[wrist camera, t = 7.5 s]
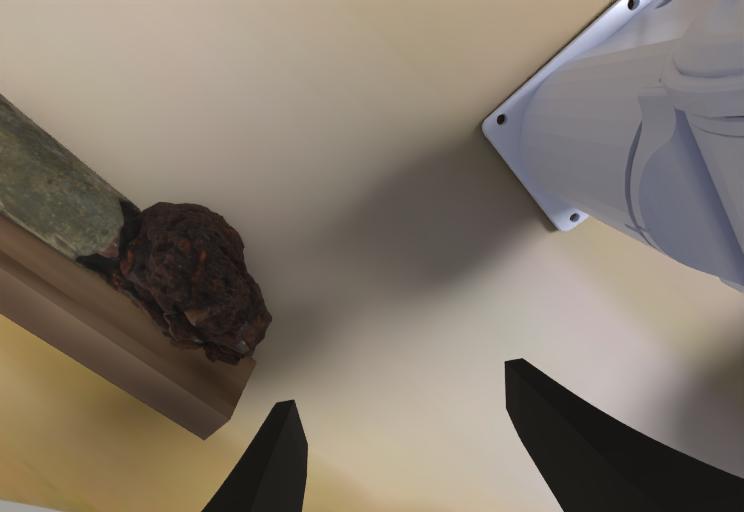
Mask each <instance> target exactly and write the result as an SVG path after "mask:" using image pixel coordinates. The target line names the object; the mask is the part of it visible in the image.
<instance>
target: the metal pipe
mask: <svg viewBox="0 0 744 512" xmlns="http://www.w3.org/2000/svg"><path fill="white" fill-rule="evenodd" d="M0 215H1V216H3V217H4V218H6V219H7V220H9V221H10V222H12V223H14V224H15V225H17V226H18V227H20V228H21V229H23V230H25V231H26V232H28V233H29V234H31V235H32V236H34V237H35V238H37V239H38V240H40V241H41V242H43V243H44V244H45V245H47V246H48V247H50V248H51V249H53V250H54V251H56V252H58V253H59V254H61V255H62V256H64V257H65V258H67V259H68V260H70V261H71V262H72V263H74V264H75V265H77V266H78V267H80V268H82V269H83V270H85V271H87V272H88V273H90V274H91V275H93V276H94V277H96V278H97V279H99V280H100V281H101V282H103V283H104V284H106V285H107V286H109V287H111V288H112V289H114V290H116V291H117V292H119V293H121V294H123V295H124V296H125V297H127V298H128V299H129V300H130V302H131V303H132V304H133V305H134V306H135V307H136V308H137V310H138V311H140V312H141V313H142V314H144V315H146V316H147V317H148V318H149V320H150V321H151V322H152V323H153V325H154V326H155V327H156V329H157V330H160V331H162V333H163V334H164V336H166V337H169V338H171V344H170V345H171V346H173V347H176V348H179V349H181V350H186V349H190V350H196V349H199V348H202V347H203V350H204V351H205V355H206V357H207V358H208V360H210V361H211V362H213V363H214V362H215V361H222V362H225V363H227V364H230V365H233V366H237V365H238V364H239V361H240V358H241V359H244V358H245V355H246V356H248V357H249V356H251V355H252V354H253V352H254V350H255V347H256V345H257V344H259V343H260V342H261V341H262V340H263V339H264V337H265V331H266V329H267V327H268V325H269V323H270V322H271V321H272V316H271V315H270V313H269V312H268V310H267V308H266V306H265V303H264V299H263V297H262V294H261V290H260V287H259V285H258V284H257V283H256V282H255V281H254V279H253V277H252V276H251V275H250V274H249V273H247V270H246V266H245V263H244V254H243V249H244V248H245V247H244V244H243V242H242V240H241V237H240V235H239V234H238V232H237V231H236V230H235V229H234V228H233V227H231V226H229V225H228V224H227V223H226V222H225V220H224V218H223V216H220V215H218V213H214V212H211V211H210V210H209V209H208V208H206V207H204V206H201V205H197V204H189V203H183V204H173V203H167V202H158V203H157V204H155V205H153V206H151V207H149V208H147V209H145V210H143V211H141V210H140V209H139V208H138V207H136V206H135V205H134V204H133V203H132V202H131V201H129V200H128V199H127V198H126V197H124V196H123V195H122V194H121V193H119V192H118V191H117V190H116V189H114V188H113V187H112V186H111V185H110V184H108V183H107V182H106V181H105V180H103V179H102V178H101V177H100V176H99V175H97V174H96V173H95V172H94V171H92V170H91V169H90V168H89V167H88V166H86V165H85V164H84V163H83V162H81V161H80V160H79V159H78V158H77V157H76V156H75V155H73V154H72V153H71V152H70V151H69V150H68V149H66V148H65V147H64V146H63V145H62V144H60V143H59V142H58V141H57V140H55V139H54V138H53V137H52V136H50V135H49V134H48V133H47V132H45V131H44V130H43V129H42V128H40V127H39V126H38V125H37V124H36V123H34V122H33V121H32V120H31V119H29V118H28V117H27V116H26V115H25V114H23V113H22V112H21V111H20V110H19V109H17V108H16V107H15V106H14V105H13V104H12V103H11V102H9V101H8V100H7V99H6V98H5V97H4V96H2V95H1V94H0Z"/></svg>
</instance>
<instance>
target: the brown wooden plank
mask: <svg viewBox="0 0 744 512" xmlns="http://www.w3.org/2000/svg"><path fill="white" fill-rule="evenodd" d="M0 314H2V315H3V316H5V317H7V318H8V319H10V320H11V321H13V322H15V323H16V324H18V325H20V326H21V327H23V328H24V329H26V330H28V331H29V332H31V333H32V334H34V335H36V336H37V337H39V338H40V339H42V340H44V341H45V342H47V343H48V344H50V345H52V346H53V347H55V348H57V349H58V350H60V351H61V352H63V353H65V354H66V355H68V356H69V357H71V358H73V359H74V360H76V361H77V362H79V363H81V364H82V365H84V366H85V367H87V368H89V369H90V370H92V371H94V372H95V373H97V374H98V375H100V376H102V377H103V378H105V379H106V380H108V381H110V382H111V383H113V384H114V385H116V386H118V387H119V388H121V389H122V390H124V391H126V392H127V393H129V394H131V395H132V396H134V397H135V398H137V399H139V400H140V401H142V402H143V403H145V404H147V405H148V406H150V407H151V408H153V409H155V410H156V411H158V412H159V413H161V414H163V415H164V416H166V417H168V418H169V419H171V420H172V421H174V422H176V423H177V424H179V425H180V426H182V427H184V428H185V429H187V430H188V431H190V432H192V433H193V434H195V435H196V436H198V437H200V438H201V439H203V440H205V439H207V438H208V437H209V436H210V435H212V434H213V433H214V432H215V431H216V430H218V429H219V428H220V427H221V426H223V425H224V424H225V423H226V422H228V421H229V420H230V419H231V416H232V414H233V412H234V410H235V408H236V405H237V403H238V401H239V399H240V397H241V394H242V392H243V390H244V388H245V386H246V383H247V381H248V379H249V377H250V375H251V372H252V370H253V368H254V366H255V364H256V362H255V361H254V360H252V359H251V358H249V357H248V356H246V355H245V358H244V359H241V358H240V361H239V364H238V365H237V366H233V365H230V364H227V363H225V362H222V361H215V362H214V363H213V362H211V361H210V360H208V358H207V357H206V355H205V351H204V350H203V347H202V348H199V349H196V350H190V349H186V350H181V349H179V348H176V347H173V346H171V345H170V344H171V338H169V337H166V336H164V334H163V333H162V331H160V330H157V329H156V327H155V326H154V325H153V323H152V322H151V321H150V320H149V318H148V317H147V316H146V315H144V314H142V313H141V312H140V311H138V310H137V308H136V307H135V306H134V305H133V304H132V303H131V302H130V300H129V299H128V298H127V297H125V296H124V295H123V294H121V293H119V292H117V291H116V290H114V289H112V288H111V287H109V286H107V285H106V284H104V283H103V282H101V281H100V280H99V279H97V278H96V277H94V276H93V275H91V274H90V273H88V272H87V271H85V270H83V269H82V268H80V267H78V266H77V265H75V264H74V263H72V262H71V261H70V260H68V259H67V258H65V257H64V256H62V255H61V254H59V253H58V252H56V251H54V250H53V249H51V248H50V247H48V246H47V245H45V244H44V243H43V242H41V241H40V240H38V239H37V238H35V237H34V236H32V235H31V234H29V233H28V232H26V231H25V230H23V229H21V228H20V227H18V226H17V225H15V224H14V223H12V222H10V221H9V220H7V219H6V218H4V217H3V216H1V215H0Z"/></svg>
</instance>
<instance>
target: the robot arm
mask: <svg viewBox="0 0 744 512" xmlns="http://www.w3.org/2000/svg"><path fill="white" fill-rule="evenodd" d="M628 1H629V0H617V1H616V2H615V3H614V4H613V5H612V6H611V7H610V8H608V9H607V10H606V11H605V12H604V13H603V14H602V15H601V16H600V17H598V18H597V19H596V20H595V21H594V22H593V23H592V24H591V25H590V26H588V27H587V28H586V29H585V30H584V31H583V32H582V33H581V34H580V35H579V36H577V37H576V38H575V39H574V40H573V41H572V42H571V43H570V44H569V45H567V46H566V47H565V48H564V49H563V50H562V51H561V52H560V53H559V54H557V55H556V56H555V57H554V58H553V59H552V60H551V61H550V62H549V63H547V64H546V65H545V66H544V67H543V68H542V69H541V70H540V71H539V72H537V73H536V74H535V75H534V76H533V77H532V78H531V79H530V80H529V81H527V82H526V83H525V84H524V85H523V86H522V87H521V88H520V89H519V90H517V91H516V92H515V93H514V94H513V95H512V96H511V97H510V98H509V99H507V100H506V101H505V102H504V103H503V104H502V105H501V106H500V107H499V108H497V109H496V110H495V111H494V112H493V113H492V114H491V115H490V116H489V117H487V118H486V119H485V121H484V122H483V124H482V131H483V133H484V135H485V136H486V137H487V139H488V140H489V141H490V142H491V144H492V145H493V146H494V148H495V149H496V150H497V152H498V153H499V154H500V155H501V157H502V158H503V159H504V161H505V162H506V163H507V165H508V166H509V167H510V168H511V170H512V171H513V172H514V174H515V175H516V176H517V177H518V179H519V180H520V181H521V183H522V184H523V185H524V187H525V188H526V189H527V190H528V192H529V193H530V194H531V196H532V197H533V198H534V199H535V201H536V202H537V203H538V205H539V206H540V207H541V209H542V210H543V211H544V212H545V214H546V215H547V216H548V218H549V219H550V220H551V221H552V223H553V224H554V225H555V227H556V228H557V229H559V230H560V231H563V232H566V231H569V230H571V229H572V228H574V227H575V226H576V225H578V224H579V223H581V222H582V221H583V220H585V219H586V218H587V217H589V216H592V217H594V218H595V219H597V220H599V221H601V222H603V223H605V224H607V225H609V226H611V227H613V228H615V229H617V230H618V231H620V232H622V233H624V234H626V235H628V236H630V237H632V238H634V239H636V240H638V241H640V242H641V243H643V244H645V245H647V246H649V247H651V248H653V249H655V250H657V251H659V252H661V253H663V254H664V255H667V256H669V257H670V258H672V259H674V260H676V261H678V262H680V263H682V264H684V265H686V266H689V267H691V268H694V269H696V270H699V271H702V272H705V273H708V274H711V275H715V276H718V277H719V278H720V280H721V281H722V282H723V283H724V284H726V285H728V286H730V287H732V288H734V289H736V290H738V291H740V292H742V293H744V0H633V2H634V5H633V8H632V9H631V10H629V9H628V6H627V4H628ZM501 114H503V115H504V117H505V120H504V122H503V123H502V124H501V125H499V124H498V123H497V117H498V116H499V115H501ZM574 213H576V216H575V218H574V219H572V220H570V216H571V215H572V214H574ZM505 391H506V409H507V412H508V414H509V416H510V418H511V421H512V423H513V425H514V427H515V429H516V431H517V433H518V436H519V438H520V439H521V441H522V443H523V445H524V446H525V448H526V450H527V451H528V453H529V455H530V456H531V458H532V460H533V461H534V463H535V465H536V466H537V468H538V470H539V471H540V473H541V475H542V476H543V478H544V479H545V481H546V483H547V484H548V486H549V488H550V489H551V491H552V493H553V494H554V496H555V498H556V499H557V501H558V503H559V504H560V506H561V508H562V509H563V511H564V512H744V479H743V478H740V477H738V476H735V475H733V474H730V473H728V472H725V471H723V470H720V469H718V468H716V467H713V466H711V465H708V464H706V463H704V462H701V461H699V460H697V459H695V458H692V457H690V456H688V455H686V454H684V453H681V452H679V451H677V450H675V449H673V448H670V447H668V446H666V445H664V444H662V443H660V442H658V441H656V440H654V439H652V438H650V437H648V436H646V435H644V434H642V433H640V432H639V431H637V430H635V429H633V428H631V427H629V426H627V425H625V424H623V423H622V422H620V421H618V420H616V419H615V418H613V417H611V416H609V415H608V414H606V413H604V412H603V411H601V410H599V409H598V408H596V407H594V406H593V405H591V404H589V403H588V402H586V401H585V400H583V399H582V398H580V397H578V396H577V395H575V394H574V393H572V392H571V391H569V390H568V389H566V388H565V387H563V386H562V385H560V384H559V383H557V382H556V381H554V380H553V379H552V378H550V377H549V376H547V375H546V374H544V373H543V372H542V371H540V370H539V369H537V368H536V367H534V366H533V365H532V364H530V363H529V362H527V361H526V360H524V359H523V358H521V359H515V360H509V361H505ZM307 456H308V443H307V440H306V437H305V433H304V430H303V427H302V424H301V420H300V417H299V414H298V410H297V407H296V404H295V400H289V401H283V402H278V403H276V404H275V405H274V407H273V408H272V410H271V411H270V413H269V415H268V416H267V418H266V420H265V421H264V423H263V424H262V426H261V428H260V429H259V431H258V433H257V434H256V436H255V437H254V439H253V440H252V442H251V443H250V445H249V447H248V448H247V450H246V451H245V453H244V454H243V456H242V457H241V459H240V460H239V462H238V463H237V465H236V466H235V467H234V469H233V470H232V472H231V473H230V474H229V476H228V477H227V479H226V480H225V481H224V483H223V484H222V485H221V487H220V488H219V490H218V491H217V492H216V494H215V495H214V496H213V497H212V499H211V500H210V501H209V503H208V504H207V505H206V506H205V508H204V509H203V510H202V511H201V512H302V506H303V499H304V492H305V485H306V478H307Z"/></svg>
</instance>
